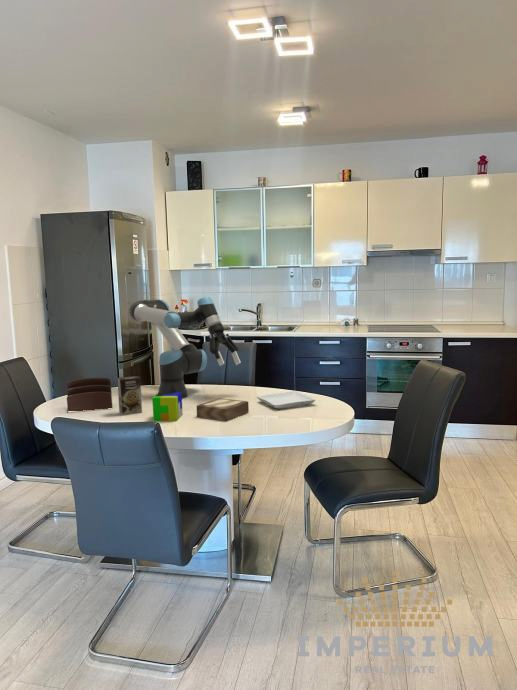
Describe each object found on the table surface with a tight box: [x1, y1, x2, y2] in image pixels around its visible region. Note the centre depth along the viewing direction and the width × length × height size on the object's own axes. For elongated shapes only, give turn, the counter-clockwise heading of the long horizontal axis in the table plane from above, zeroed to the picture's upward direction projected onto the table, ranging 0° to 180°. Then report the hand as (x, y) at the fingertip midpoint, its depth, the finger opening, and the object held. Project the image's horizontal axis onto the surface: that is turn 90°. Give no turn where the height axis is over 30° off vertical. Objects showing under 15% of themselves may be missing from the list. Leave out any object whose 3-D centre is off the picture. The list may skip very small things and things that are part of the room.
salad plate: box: [256, 390, 316, 410], centre depth 238 cm, size 21×21×3 cm
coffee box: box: [117, 375, 143, 416], centre depth 229 cm, size 9×6×16 cm
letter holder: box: [66, 377, 114, 412], centre depth 240 cm, size 10×20×14 cm, turn 107°
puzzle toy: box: [151, 392, 184, 422], centre depth 218 cm, size 10×10×10 cm
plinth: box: [196, 397, 250, 422], centre depth 221 cm, size 16×16×5 cm
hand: (230, 364), depth 247 cm, fingers open, 13 cm apart
